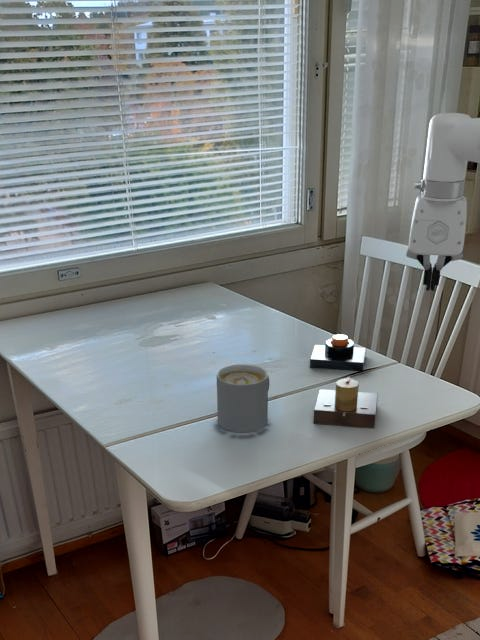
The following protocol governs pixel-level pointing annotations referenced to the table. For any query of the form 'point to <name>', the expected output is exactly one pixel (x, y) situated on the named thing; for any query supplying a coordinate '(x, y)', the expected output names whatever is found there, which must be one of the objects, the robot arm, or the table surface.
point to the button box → (338, 357)
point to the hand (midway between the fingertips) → (430, 288)
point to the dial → (346, 394)
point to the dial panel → (355, 418)
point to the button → (340, 340)
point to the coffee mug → (242, 398)
